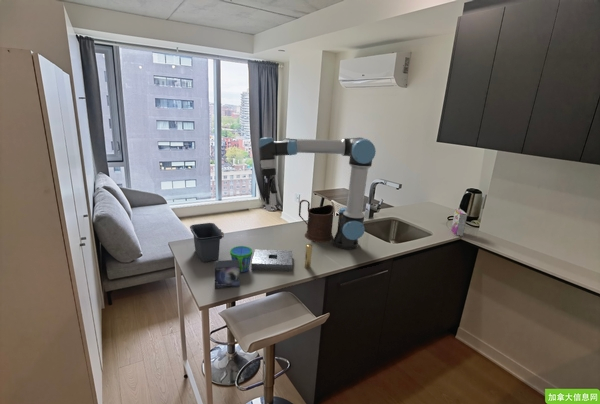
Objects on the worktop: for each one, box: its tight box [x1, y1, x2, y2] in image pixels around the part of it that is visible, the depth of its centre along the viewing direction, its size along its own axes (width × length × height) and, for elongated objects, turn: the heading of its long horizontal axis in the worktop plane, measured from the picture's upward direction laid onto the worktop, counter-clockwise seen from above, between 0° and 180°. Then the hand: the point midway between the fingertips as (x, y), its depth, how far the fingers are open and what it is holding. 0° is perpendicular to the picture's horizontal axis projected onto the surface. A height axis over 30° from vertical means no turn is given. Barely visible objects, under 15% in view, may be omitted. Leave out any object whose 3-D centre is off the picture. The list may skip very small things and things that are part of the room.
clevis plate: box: [250, 248, 293, 272], centre depth 157 cm, size 20×16×4 cm
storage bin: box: [189, 222, 225, 263], centre depth 160 cm, size 21×16×14 cm
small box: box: [214, 259, 240, 290], centre depth 134 cm, size 11×6×10 cm, turn 105°
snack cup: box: [229, 245, 253, 274], centre depth 148 cm, size 16×10×10 cm
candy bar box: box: [451, 208, 468, 237], centre depth 215 cm, size 11×5×16 cm, turn 171°
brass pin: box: [304, 243, 313, 270], centre depth 154 cm, size 3×3×12 cm
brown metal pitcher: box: [298, 199, 335, 243], centre depth 192 cm, size 18×24×25 cm
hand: (271, 207), depth 163 cm, fingers open, 13 cm apart
